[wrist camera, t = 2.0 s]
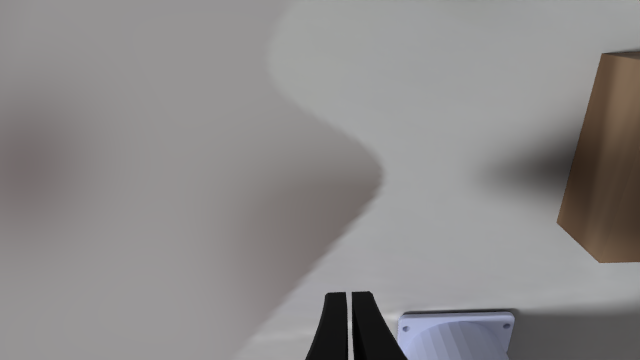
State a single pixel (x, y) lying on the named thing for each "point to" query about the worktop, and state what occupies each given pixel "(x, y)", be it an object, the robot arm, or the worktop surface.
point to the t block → (608, 166)
